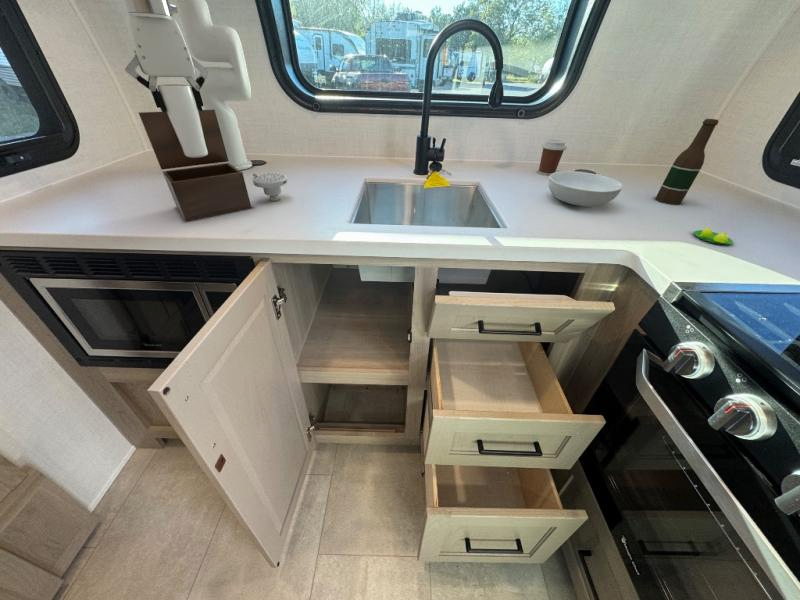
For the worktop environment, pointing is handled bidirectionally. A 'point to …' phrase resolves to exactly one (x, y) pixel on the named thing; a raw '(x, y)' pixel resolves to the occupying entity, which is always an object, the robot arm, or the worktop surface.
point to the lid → (169, 144)
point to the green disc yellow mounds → (713, 236)
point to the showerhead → (270, 184)
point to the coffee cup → (551, 156)
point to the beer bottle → (686, 167)
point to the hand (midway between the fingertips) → (182, 110)
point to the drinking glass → (184, 118)
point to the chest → (208, 190)
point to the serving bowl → (583, 188)
